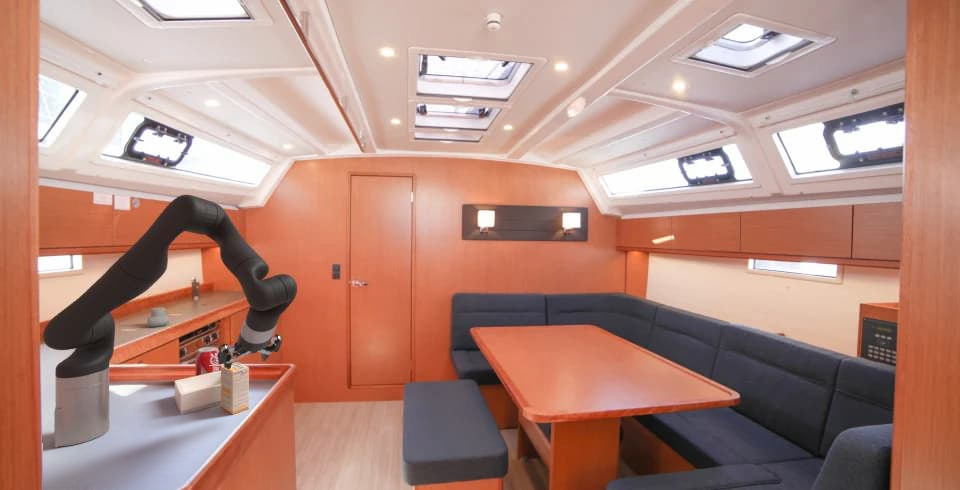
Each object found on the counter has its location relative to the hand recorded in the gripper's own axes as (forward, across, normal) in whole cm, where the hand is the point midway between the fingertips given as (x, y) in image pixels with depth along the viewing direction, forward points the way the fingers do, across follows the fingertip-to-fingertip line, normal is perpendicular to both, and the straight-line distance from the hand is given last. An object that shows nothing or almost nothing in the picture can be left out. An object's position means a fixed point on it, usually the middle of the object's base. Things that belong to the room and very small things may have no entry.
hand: (246, 362), depth 98 cm
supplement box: (+21, 0, +4) cm, 21 cm away
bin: (+30, +5, -5) cm, 31 cm away
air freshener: (+118, +7, -94) cm, 151 cm away
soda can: (+41, +2, -16) cm, 44 cm away
